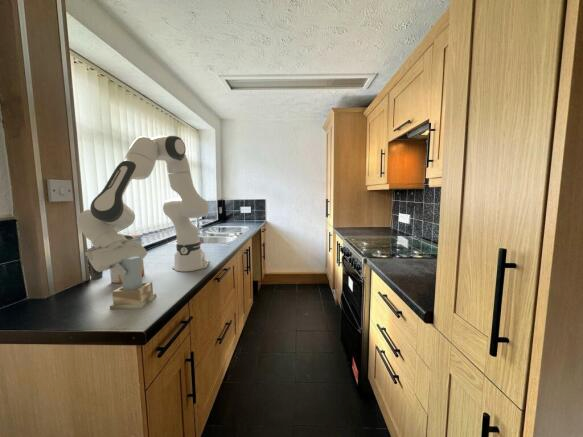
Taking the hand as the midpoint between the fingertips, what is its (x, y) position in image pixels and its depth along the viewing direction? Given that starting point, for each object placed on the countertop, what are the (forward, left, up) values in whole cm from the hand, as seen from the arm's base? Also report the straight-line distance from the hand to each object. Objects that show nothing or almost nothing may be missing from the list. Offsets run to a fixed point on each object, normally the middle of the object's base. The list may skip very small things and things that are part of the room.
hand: (133, 271), depth 97 cm
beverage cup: (-31, -38, -12) cm, 51 cm away
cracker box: (-29, -21, -12) cm, 38 cm away
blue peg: (0, -1, -7) cm, 7 cm away
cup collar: (0, -1, -12) cm, 12 cm away
